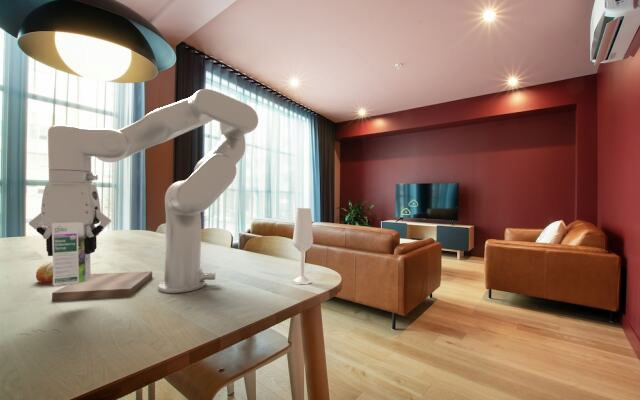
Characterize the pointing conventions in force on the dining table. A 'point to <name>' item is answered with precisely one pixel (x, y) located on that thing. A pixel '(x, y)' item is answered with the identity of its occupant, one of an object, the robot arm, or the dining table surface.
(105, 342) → the dining table surface
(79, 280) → the syrup box
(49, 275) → the fruit
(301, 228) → the champagne flute
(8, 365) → the dining table surface
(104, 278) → the walnut board
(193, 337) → the dining table surface
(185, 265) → the robot arm
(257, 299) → the dining table surface
